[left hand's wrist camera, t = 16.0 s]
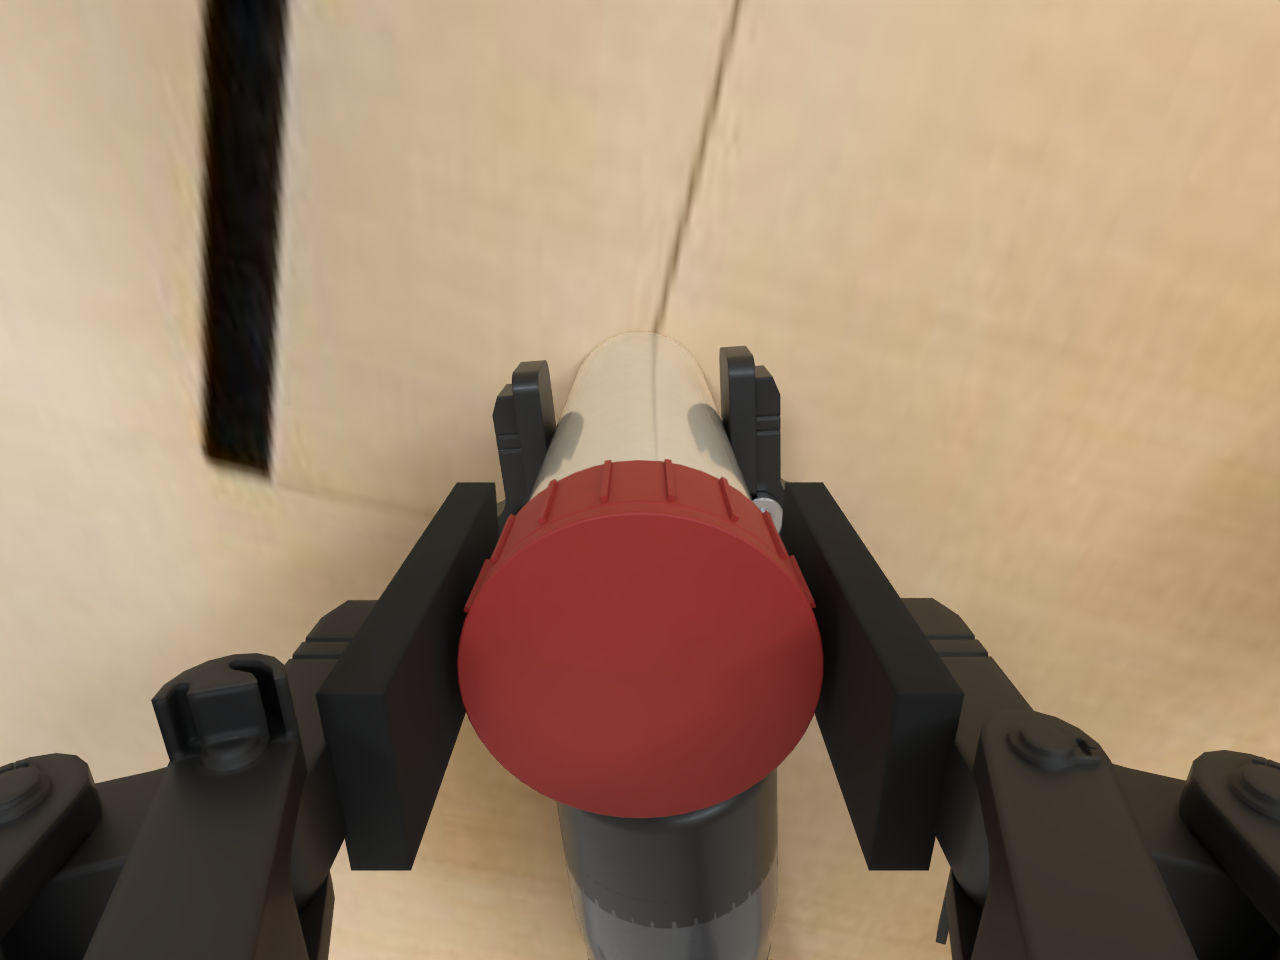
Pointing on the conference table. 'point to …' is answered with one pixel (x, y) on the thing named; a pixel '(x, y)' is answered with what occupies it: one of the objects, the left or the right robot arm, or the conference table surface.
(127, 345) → the conference table surface
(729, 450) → the jar
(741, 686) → the lid
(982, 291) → the conference table surface
